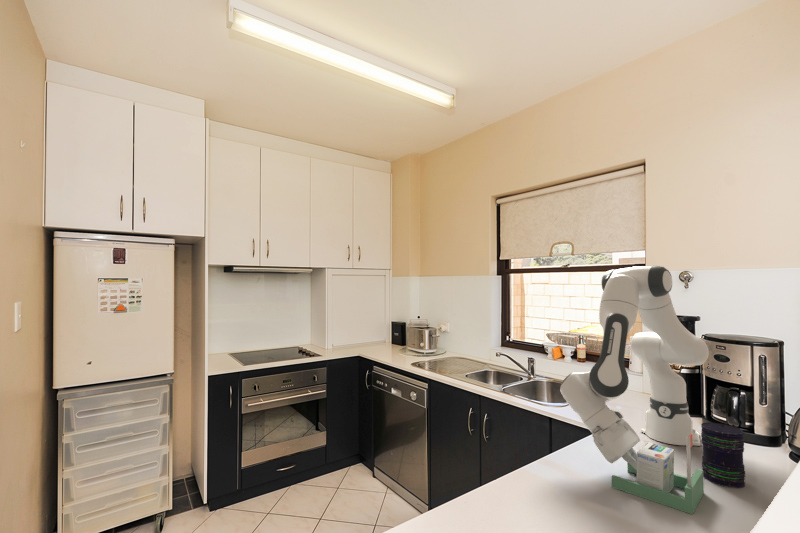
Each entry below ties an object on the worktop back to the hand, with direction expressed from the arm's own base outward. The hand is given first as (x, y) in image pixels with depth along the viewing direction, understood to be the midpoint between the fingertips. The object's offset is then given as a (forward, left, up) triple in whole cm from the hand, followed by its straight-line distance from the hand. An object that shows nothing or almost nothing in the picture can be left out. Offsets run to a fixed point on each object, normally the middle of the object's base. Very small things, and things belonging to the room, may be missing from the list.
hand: (639, 467), depth 114 cm
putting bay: (0, +4, -5) cm, 6 cm away
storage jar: (-22, +16, -5) cm, 27 cm away
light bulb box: (0, +4, -5) cm, 6 cm away
